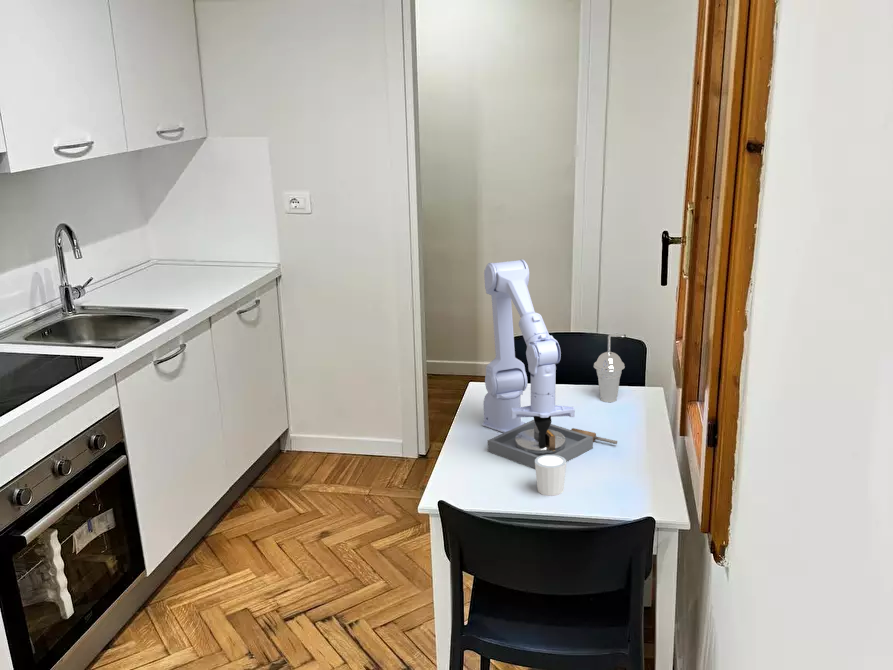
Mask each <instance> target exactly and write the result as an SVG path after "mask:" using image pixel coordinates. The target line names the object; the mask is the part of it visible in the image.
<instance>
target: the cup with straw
mask: <svg viewBox="0 0 893 670" xmlns="http://www.w3.org/2000/svg"><path fill="white" fill-rule="evenodd" d="M611 337H612V338H626V334H624V333H623V334H619V333H610V334H609V335H607V351H605V352H602V353H601V354H600V355H598V358H597V360H596V361H595V362H594V363H593V368H594V370H596V376H597V378H598V379H597V380H598V391H599V396H600V399H599V400H600V401H602V402H603V403H614V402H617V400H618V395H619V386H620V379H621V376H622V370H624V369H625V367H626V366H625V363H624V362H623V361H622V359H621V356H619V355H618V354H617V353H616V352H614V351H613V352H612V351H611Z"/></svg>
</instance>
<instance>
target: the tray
mask: <svg viewBox="0 0 893 670" xmlns="http://www.w3.org/2000/svg"><path fill="white" fill-rule="evenodd" d="M534 424H535V421H534V419H531V420H529V421H528V422H525V424H523V425H521V426H518V427H516V428H514V429H512V430H509V431H507V432H505V433H503V432H502V433H500V434H499V435H496V436H494V437H491V438H490V439H488V440H487V452H488V453H489V454H490V453H491V454H493V455H496V456H498V457H499V456H500V458H501V457H502V458H504V459H506V460H510V461H513V462H515V463H517V464H521V465H524V466H526V467H529V468H532V469H535V459H536V458H537V457H539V456H542V455H537V454H532V453H529V452H526V451H523V450H520V449H518V448H517V447H516V444H515V438H516V435H517V434H519V433H520V432H522V431H525V430H530V429H534ZM548 429H550V430H554V431H558V432H560V433H562V434H563V435H564V436H565V447H564V449H562V450H561V451H559V452H556V453H552V454H545V455H558V456H561V457H563V458H565V459H566V463H567V461H568V462H569V460H570V461H571V459H572V460H573V458H574V459H575V458H578V457H579V456H581V455H583V454H585V453H587V452H589V451H590V450H592V449H594V442H593V437H592V436H589V435H585V434H582V433H579V432H576V431H572V430H571V429H569V428H566V427H562V426H559V425H555V424H553V423H551V425H550V426H549V428H548ZM535 470H536V469H535Z"/></svg>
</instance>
